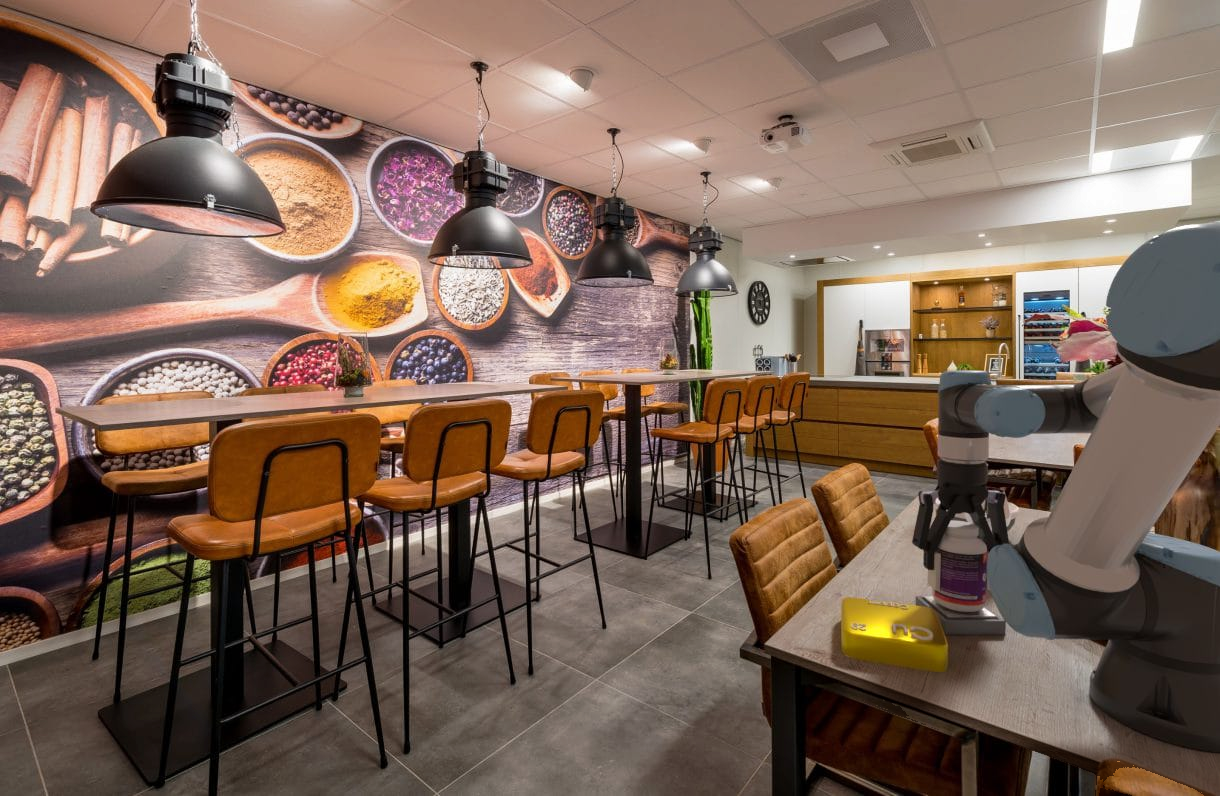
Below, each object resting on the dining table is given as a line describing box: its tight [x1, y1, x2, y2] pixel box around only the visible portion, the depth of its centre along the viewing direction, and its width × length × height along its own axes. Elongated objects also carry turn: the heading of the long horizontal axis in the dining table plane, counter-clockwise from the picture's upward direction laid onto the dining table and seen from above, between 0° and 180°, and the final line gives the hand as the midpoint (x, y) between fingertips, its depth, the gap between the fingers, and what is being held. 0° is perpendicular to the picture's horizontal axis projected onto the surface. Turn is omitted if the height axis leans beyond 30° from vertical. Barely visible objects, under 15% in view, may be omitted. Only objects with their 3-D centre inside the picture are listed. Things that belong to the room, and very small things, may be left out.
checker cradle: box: [915, 595, 1007, 636], centre depth 101 cm, size 10×10×3 cm
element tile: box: [840, 596, 949, 673], centre depth 95 cm, size 15×15×5 cm
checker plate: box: [923, 595, 996, 620], centre depth 101 cm, size 8×8×2 cm
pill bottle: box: [931, 520, 987, 612], centre depth 101 cm, size 8×8×14 cm
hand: (958, 586), depth 101 cm, fingers closed on pill bottle, 8 cm apart
